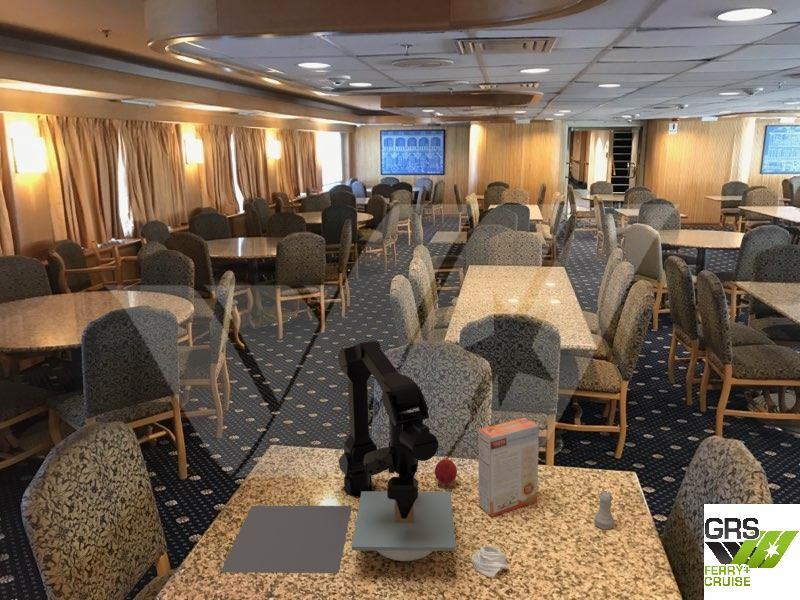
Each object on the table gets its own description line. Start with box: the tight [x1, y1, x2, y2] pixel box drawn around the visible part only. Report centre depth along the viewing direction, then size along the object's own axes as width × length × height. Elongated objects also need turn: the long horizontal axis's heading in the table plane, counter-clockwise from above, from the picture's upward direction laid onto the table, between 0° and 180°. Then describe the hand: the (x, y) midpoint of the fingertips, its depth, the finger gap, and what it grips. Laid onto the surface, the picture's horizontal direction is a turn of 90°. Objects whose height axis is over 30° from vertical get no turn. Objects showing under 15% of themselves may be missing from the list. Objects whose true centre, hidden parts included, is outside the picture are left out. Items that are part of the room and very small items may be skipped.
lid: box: [351, 490, 456, 552], centre depth 137 cm, size 21×21×5 cm
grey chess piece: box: [593, 490, 615, 530], centre depth 145 cm, size 4×4×8 cm
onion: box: [434, 455, 458, 486], centre depth 164 cm, size 6×6×8 cm
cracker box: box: [477, 417, 540, 517], centre depth 153 cm, size 14×6×21 cm, turn 115°
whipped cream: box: [471, 545, 510, 578], centre depth 132 cm, size 8×7×5 cm
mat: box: [220, 505, 353, 574], centre depth 143 cm, size 25×25×1 cm
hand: (404, 505), depth 136 cm, fingers open, 9 cm apart
